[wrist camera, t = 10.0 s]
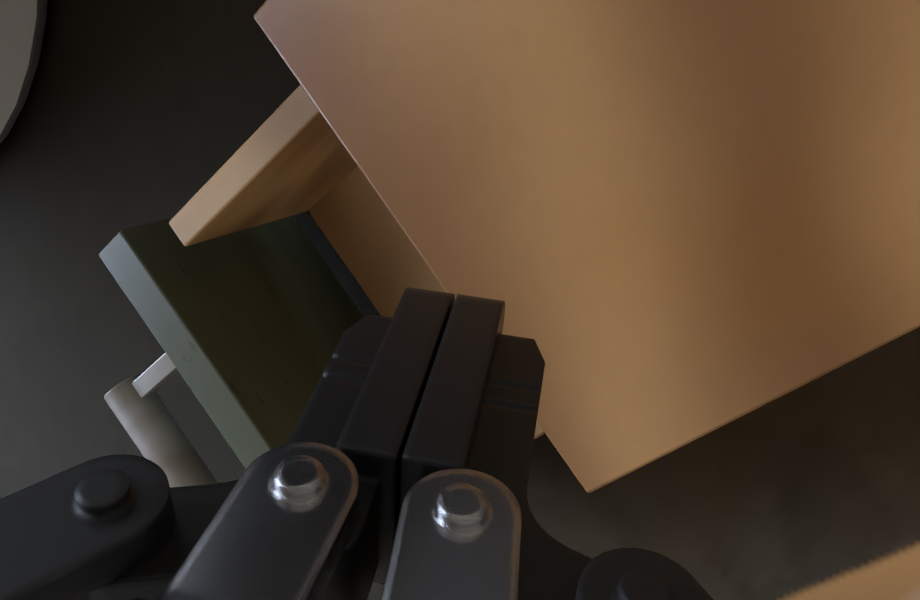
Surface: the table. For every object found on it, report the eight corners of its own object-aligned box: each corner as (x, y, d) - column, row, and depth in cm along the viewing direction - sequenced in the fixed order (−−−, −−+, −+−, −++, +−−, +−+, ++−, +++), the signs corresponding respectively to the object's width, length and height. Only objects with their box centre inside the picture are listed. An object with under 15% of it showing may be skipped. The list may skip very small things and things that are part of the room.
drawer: (328, 538, 30) (204, 656, 24) (164, 300, 31) (1, 359, 25) (768, 281, 21) (740, 368, 16) (530, -52, 22) (412, -92, 16)
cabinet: (666, 359, 24) (587, 496, 17) (432, 28, 24) (250, 15, 17) (1192, 57, 17) (1455, 58, 10) (862, -391, 18) (877, -718, 10)
